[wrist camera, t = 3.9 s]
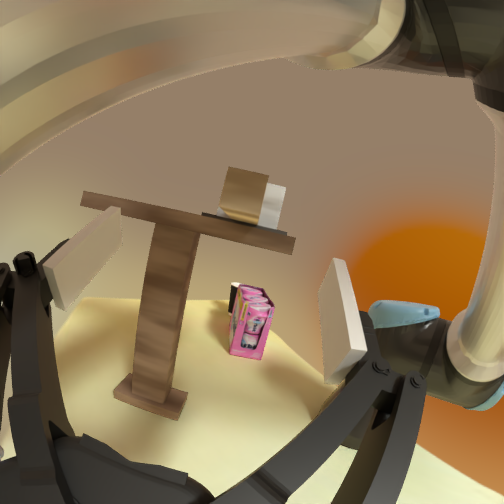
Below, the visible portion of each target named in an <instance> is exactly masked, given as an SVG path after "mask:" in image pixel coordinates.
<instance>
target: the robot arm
mask: <svg viewBox="0 0 504 504" xmlns="http://www.w3.org/2000/svg"><path fill="white" fill-rule="evenodd" d="M282 57H284V58H286V59H287V60H289V61H291V62H293V63H296V64H299V65H301V66H304V67H309V68H313V69H321V70H340V69H348V68H369V69H383V70H392V71H401V72H409V73H418V74H427V75H440V76H449V77H462V78H469V79H472V80H473V85H474V92H475V99H476V103H477V104H478V106H480V108H481V109H482V110H483V111H484V112H485V114H486V115H487V116H488V117H489V119H490V120H491V121H492V122H493V124H494V128H495V176H494V188H493V198H492V207H491V214H490V221H489V227H488V232H487V238H486V243H485V248H484V252H483V256H482V261H481V264H480V268H479V272H478V276H477V279H476V283H475V286H474V289H473V293H472V296H471V299H470V302H469V305H468V308H467V309H465V310H463V311H462V312H460V313H459V314H458V315H457V316H456V317H455V318H454V320H453V321H448V320H444V319H441V318H438V317H439V315H440V312H439V308H437V307H435V306H429V305H424V304H418V303H410V302H401V301H391V300H380V301H376V302H375V303H373V304H372V305H371V307H370V309H369V312H368V313H367V312H364V311H358V307H357V303H356V299H355V295H354V292H353V288H352V284H351V281H350V277H349V273H348V270H347V266H346V263H345V261H344V260H341V259H337V258H333V259H332V261H331V264H330V266H329V268H328V271H327V273H326V275H325V277H324V280H323V282H322V284H321V286H320V289H319V291H318V302H319V313H320V324H321V336H322V349H323V365H324V383H326V384H336V385H339V384H340V383H341V382H342V381H343V382H342V383H341V384H340V386H338V388H337V389H336V390H335V391H334V392H333V393H332V394H331V396H330V397H329V398H328V399H327V400H326V401H325V402H324V404H323V406H322V408H321V410H320V413H319V415H318V416H317V417H316V418H315V419H314V420H313V421H311V422H310V423H309V424H308V425H307V426H306V427H305V428H304V429H303V430H302V431H301V432H300V433H299V434H298V435H297V436H296V437H295V438H293V439H292V440H291V441H290V442H289V443H288V444H287V445H286V446H284V447H283V448H282V449H281V450H280V451H279V452H277V453H276V454H275V455H274V456H273V457H271V458H270V459H269V460H268V461H266V462H265V463H264V464H263V465H261V466H260V467H259V468H258V469H256V470H255V471H254V472H252V473H251V474H250V475H248V476H247V477H246V478H244V479H243V480H241V481H240V482H238V483H237V484H236V485H234V486H233V487H231V488H230V489H228V490H227V491H225V492H224V493H222V494H221V495H219V496H217V497H216V498H215V497H214V496H213V495H212V494H211V492H210V491H209V490H208V489H207V488H205V487H204V486H203V485H202V484H200V483H199V482H197V481H196V480H194V479H192V478H190V477H188V473H185V472H181V471H178V470H174V469H171V468H167V467H164V466H161V465H153V464H145V463H137V462H131V461H129V460H127V459H126V458H124V457H123V456H122V455H120V454H119V453H117V452H116V451H115V450H113V449H112V448H111V447H109V446H108V445H107V444H105V443H102V442H100V441H98V440H96V439H94V438H92V437H90V436H88V435H86V434H84V433H83V436H82V437H79V436H75V433H74V431H73V429H72V427H71V425H70V423H69V421H68V418H67V415H66V411H65V407H64V403H63V398H62V393H61V389H60V383H59V378H58V372H57V365H56V358H55V351H54V342H53V331H52V318H51V317H52V316H51V306H50V302H51V300H52V299H53V300H54V302H55V305H56V307H58V308H60V309H62V310H64V311H67V310H68V309H69V307H70V306H71V305H72V303H73V302H74V301H75V299H76V298H77V297H78V296H79V295H80V293H81V292H82V291H83V290H84V288H85V287H86V286H87V285H88V284H89V283H90V281H91V280H92V279H93V278H94V277H95V275H96V274H97V273H98V272H99V271H100V270H101V268H102V267H103V266H104V265H105V264H106V263H107V262H108V261H109V259H110V258H111V257H112V256H113V255H114V254H115V253H116V252H117V251H118V249H119V248H120V247H121V246H122V229H121V208H119V207H114V206H110V207H109V208H107V209H106V210H105V211H104V212H102V213H101V214H100V215H99V216H97V217H96V218H95V219H94V220H92V221H91V222H90V223H89V224H87V226H85V227H84V228H83V229H81V230H80V231H79V232H78V233H77V234H75V235H74V236H73V237H72V238H71V239H67V240H65V241H63V242H61V243H59V244H58V245H57V246H56V247H55V249H53V250H52V251H51V252H50V253H48V254H47V255H46V256H45V257H44V258H43V259H42V260H41V261H40V262H39V263H38V264H36V260H35V257H34V254H33V253H32V252H29V251H25V252H22V253H20V254H18V255H17V256H16V257H15V258H14V260H13V264H14V267H15V270H16V271H11V270H10V267H9V265H8V264H7V263H0V430H1V422H2V409H3V398H4V390H5V382H6V376H7V369H8V364H9V359H10V354H11V374H12V388H13V396H12V397H10V398H9V399H8V413H9V420H10V426H11V432H12V438H13V443H14V447H15V452H16V456H15V457H12V458H9V459H6V460H4V461H1V459H0V504H285V503H286V502H287V500H288V498H289V496H290V495H291V494H292V493H294V492H295V491H296V490H297V489H298V488H299V487H300V486H301V485H302V484H303V483H304V482H305V481H306V480H307V479H308V478H309V477H310V476H311V475H312V474H313V473H314V472H315V471H316V470H317V469H318V468H319V467H320V466H321V465H322V464H323V463H324V462H325V461H326V460H327V459H328V458H329V457H330V456H331V454H332V453H333V452H334V451H335V450H336V449H337V448H338V447H339V445H340V444H342V445H344V446H347V447H350V448H353V449H358V451H357V453H356V456H355V458H354V460H353V462H352V464H351V466H350V468H349V471H348V473H347V475H346V477H345V478H344V480H343V482H342V484H341V486H340V488H339V490H338V492H337V493H336V495H335V497H334V499H333V501H332V502H331V504H396V501H397V499H398V496H399V494H400V491H401V489H402V486H403V483H404V480H405V477H406V474H407V471H408V468H409V465H410V462H411V458H412V455H413V451H414V448H415V444H416V440H417V436H418V432H419V427H420V423H421V418H422V413H423V407H424V402H425V396H426V395H429V396H432V397H435V398H438V399H441V400H444V401H447V402H450V403H453V404H457V405H460V406H462V407H464V408H465V409H470V410H479V411H483V410H487V409H489V408H491V407H492V406H494V405H495V404H496V403H497V402H498V401H499V400H500V399H501V397H502V396H503V394H504V0H0V176H1V175H3V174H4V173H5V172H6V171H7V170H9V169H10V168H11V167H13V166H14V165H15V164H17V163H18V162H19V161H21V160H22V159H23V158H25V157H26V156H28V155H29V154H30V153H32V152H33V151H35V150H36V149H37V148H39V147H41V146H42V145H44V144H45V143H47V142H48V141H50V140H51V139H53V138H55V137H56V136H58V135H59V134H61V133H63V132H64V131H66V130H68V129H70V128H71V127H73V126H75V125H77V124H78V123H80V122H82V121H84V120H86V119H88V118H89V117H92V116H93V115H95V114H98V113H100V112H102V111H104V110H106V109H107V108H110V107H112V106H114V105H116V104H118V103H121V102H123V101H125V100H128V99H130V98H132V97H135V96H137V95H140V94H142V93H145V92H147V91H150V90H153V89H155V88H158V87H161V86H164V85H167V84H170V83H172V82H176V81H179V80H181V79H185V78H188V77H192V76H195V75H199V74H202V73H206V72H209V71H214V70H218V69H222V68H226V67H230V66H235V65H240V64H245V63H250V62H256V61H261V60H268V59H275V58H282ZM1 302H3V304H2V306H1ZM3 456H4V450H3V448H2V447H1V446H0V458H2V457H3Z"/></svg>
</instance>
